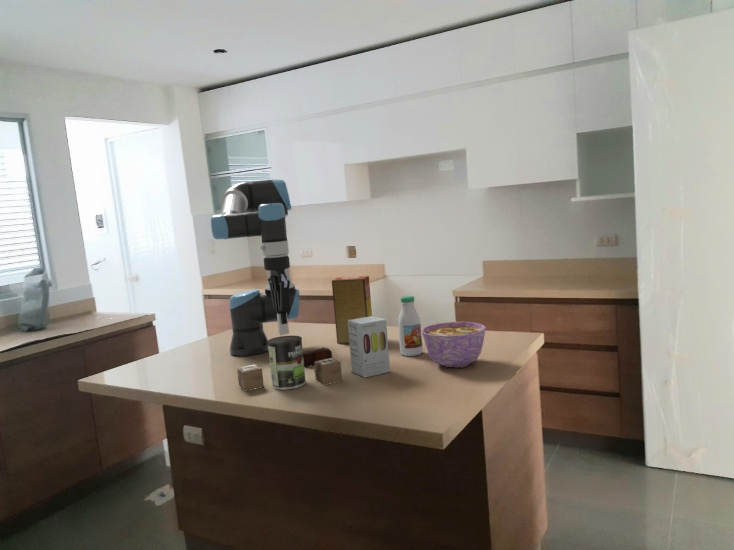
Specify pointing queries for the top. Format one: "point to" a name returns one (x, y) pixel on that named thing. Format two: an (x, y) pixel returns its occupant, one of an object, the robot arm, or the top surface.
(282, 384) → the coffee can
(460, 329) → the bowl of food
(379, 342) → the supplement box
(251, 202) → the robot arm
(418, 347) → the milk bottle
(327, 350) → the brick
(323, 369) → the number block right
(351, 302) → the food packaging
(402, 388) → the top surface
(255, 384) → the number block left
